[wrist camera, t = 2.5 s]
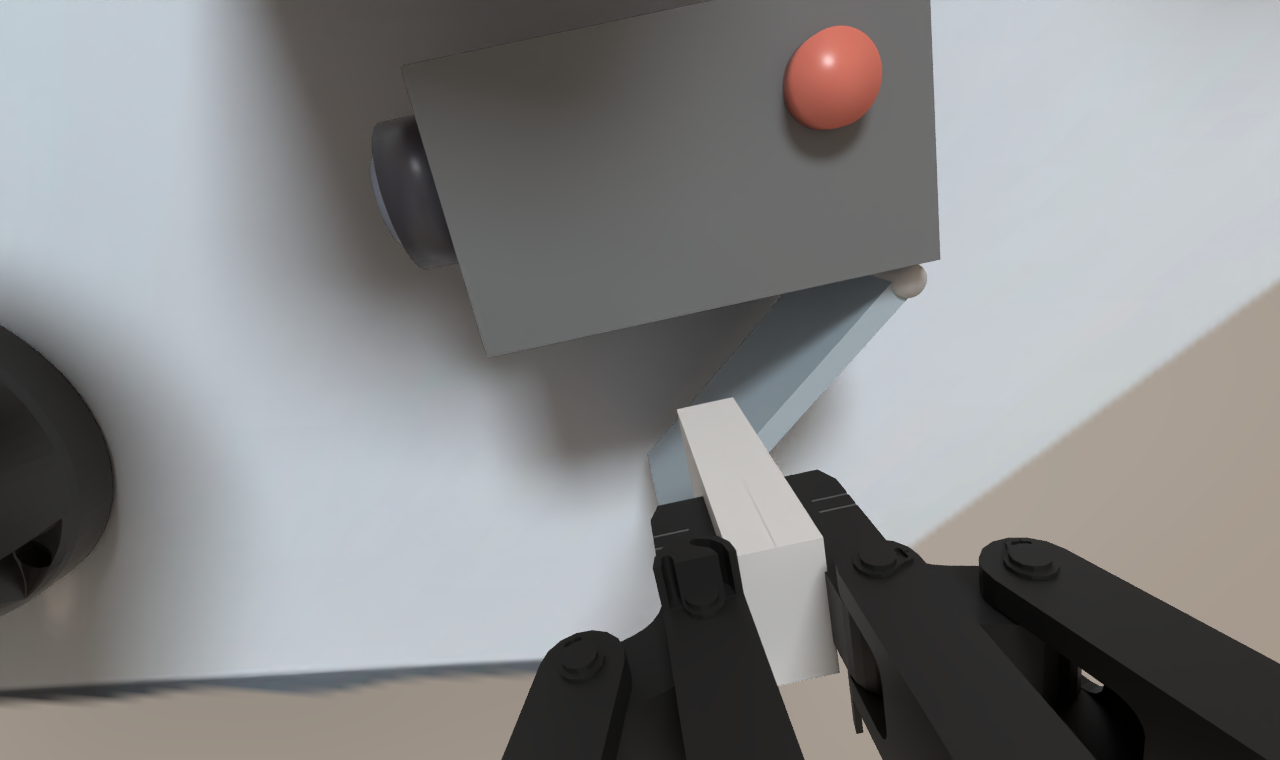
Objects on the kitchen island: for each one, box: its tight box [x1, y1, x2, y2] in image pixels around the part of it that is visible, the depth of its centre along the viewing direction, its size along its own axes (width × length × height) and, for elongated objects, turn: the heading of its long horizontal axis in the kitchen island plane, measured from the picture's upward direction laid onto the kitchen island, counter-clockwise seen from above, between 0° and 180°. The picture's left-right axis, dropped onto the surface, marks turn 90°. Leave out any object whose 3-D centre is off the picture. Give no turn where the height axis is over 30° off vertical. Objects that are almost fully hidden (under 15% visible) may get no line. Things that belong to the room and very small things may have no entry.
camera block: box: [370, 0, 940, 358], centre depth 21 cm, size 16×8×10 cm, turn 101°
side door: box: [647, 264, 927, 506], centre depth 24 cm, size 13×2×7 cm, turn 141°
